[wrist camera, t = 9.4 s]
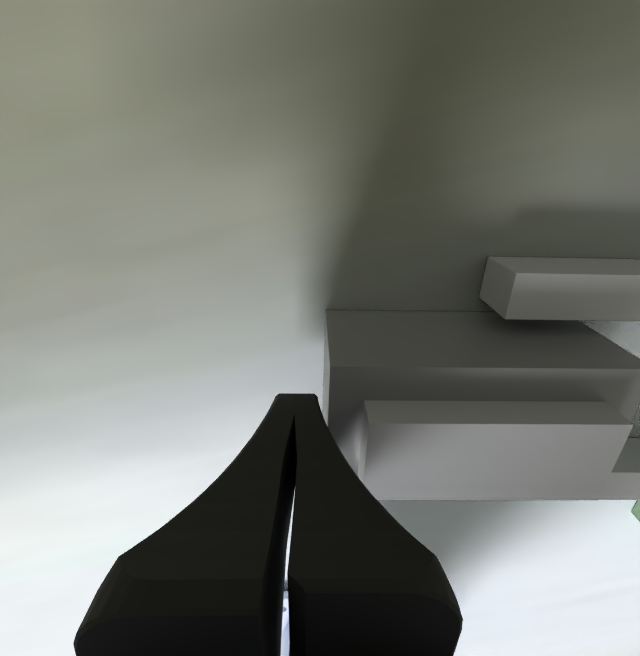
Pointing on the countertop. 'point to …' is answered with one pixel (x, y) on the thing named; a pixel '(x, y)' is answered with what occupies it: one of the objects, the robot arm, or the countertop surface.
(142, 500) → the countertop surface
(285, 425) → the robot arm
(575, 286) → the deck
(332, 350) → the stepped grey block
